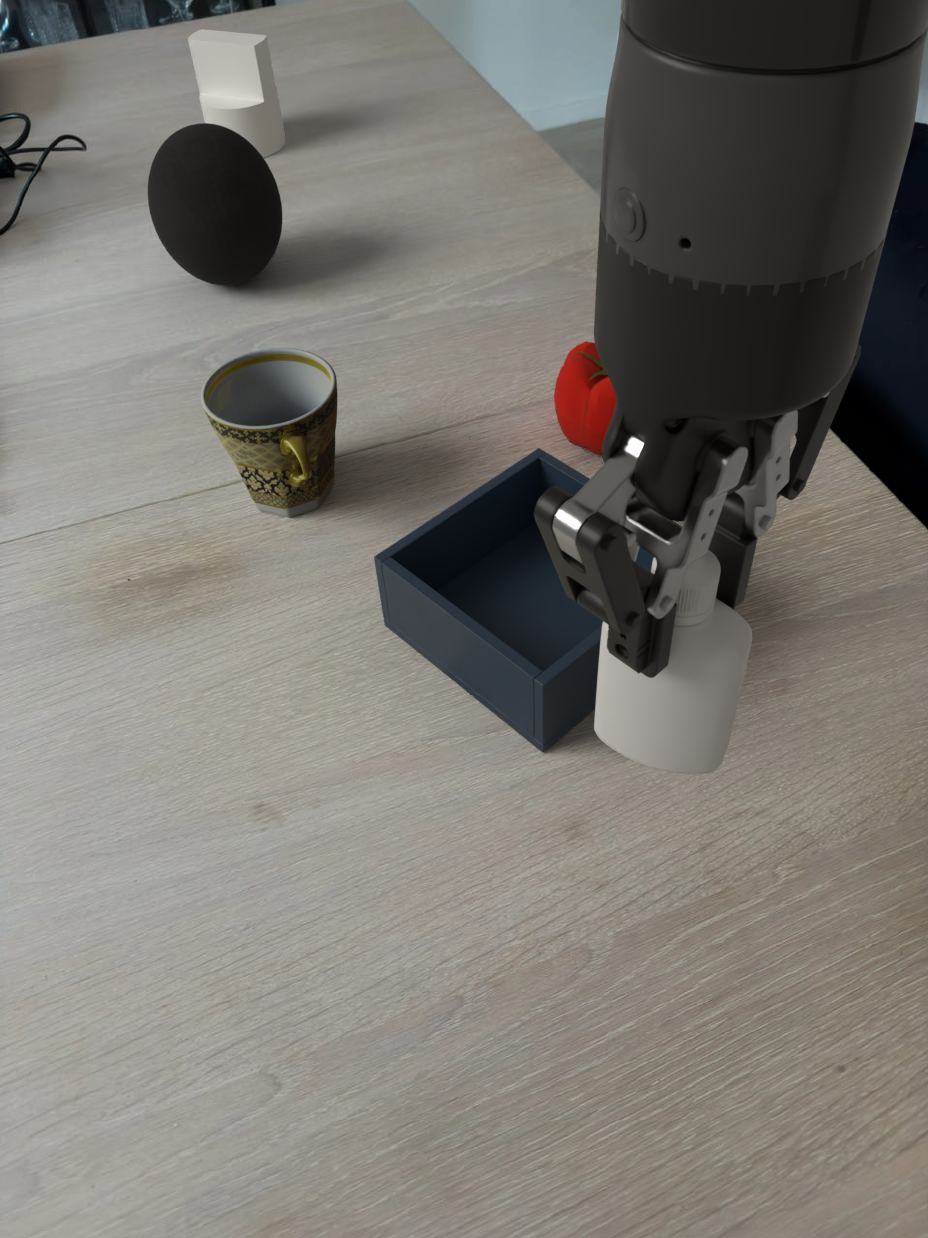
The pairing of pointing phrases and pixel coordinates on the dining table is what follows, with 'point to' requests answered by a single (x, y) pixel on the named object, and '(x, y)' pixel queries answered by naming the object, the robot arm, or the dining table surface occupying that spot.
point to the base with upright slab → (238, 86)
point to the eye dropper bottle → (679, 684)
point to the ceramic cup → (277, 425)
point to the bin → (498, 603)
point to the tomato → (584, 398)
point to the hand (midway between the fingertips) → (677, 626)
